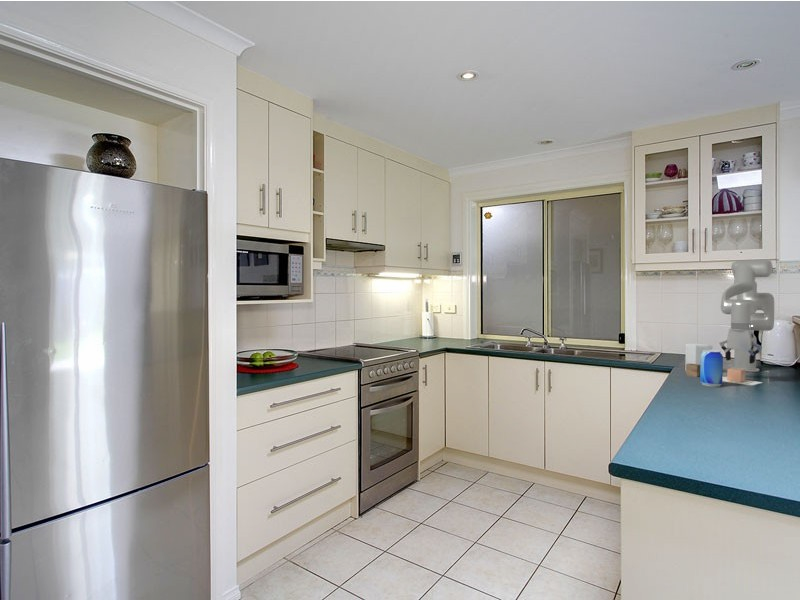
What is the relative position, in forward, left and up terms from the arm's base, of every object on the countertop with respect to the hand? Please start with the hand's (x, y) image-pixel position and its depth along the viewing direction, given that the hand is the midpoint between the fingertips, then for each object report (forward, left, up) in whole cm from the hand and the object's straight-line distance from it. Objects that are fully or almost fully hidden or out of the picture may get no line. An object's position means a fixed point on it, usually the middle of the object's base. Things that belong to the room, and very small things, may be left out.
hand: (739, 361), depth 219 cm
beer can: (+25, -2, -9) cm, 27 cm away
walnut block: (+8, -17, -9) cm, 21 cm away
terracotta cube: (+4, 0, -9) cm, 10 cm away
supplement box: (-6, -21, -9) cm, 24 cm away
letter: (+4, 0, -9) cm, 10 cm away
